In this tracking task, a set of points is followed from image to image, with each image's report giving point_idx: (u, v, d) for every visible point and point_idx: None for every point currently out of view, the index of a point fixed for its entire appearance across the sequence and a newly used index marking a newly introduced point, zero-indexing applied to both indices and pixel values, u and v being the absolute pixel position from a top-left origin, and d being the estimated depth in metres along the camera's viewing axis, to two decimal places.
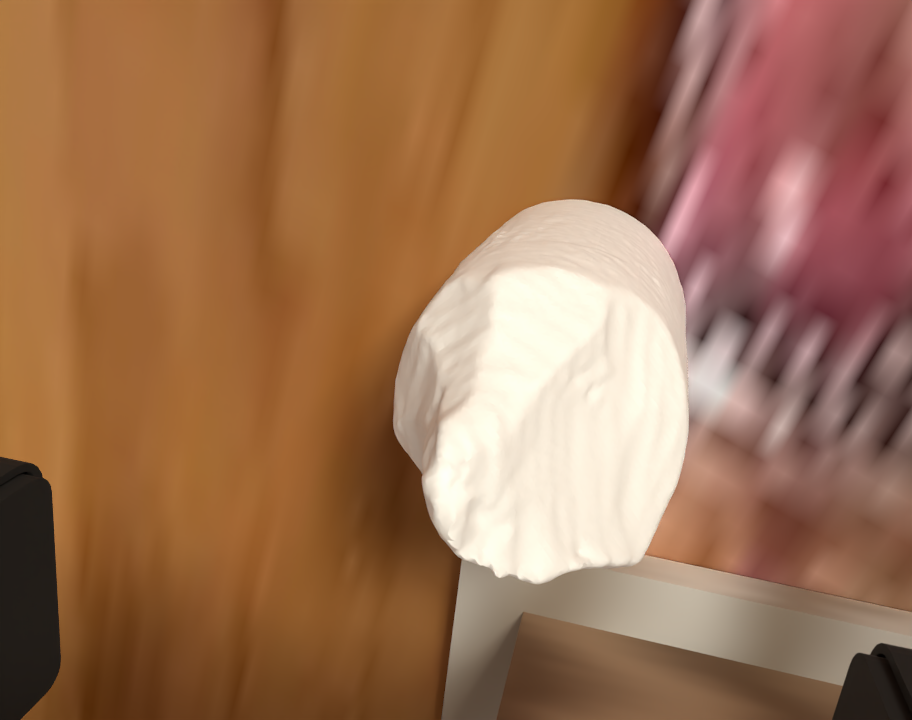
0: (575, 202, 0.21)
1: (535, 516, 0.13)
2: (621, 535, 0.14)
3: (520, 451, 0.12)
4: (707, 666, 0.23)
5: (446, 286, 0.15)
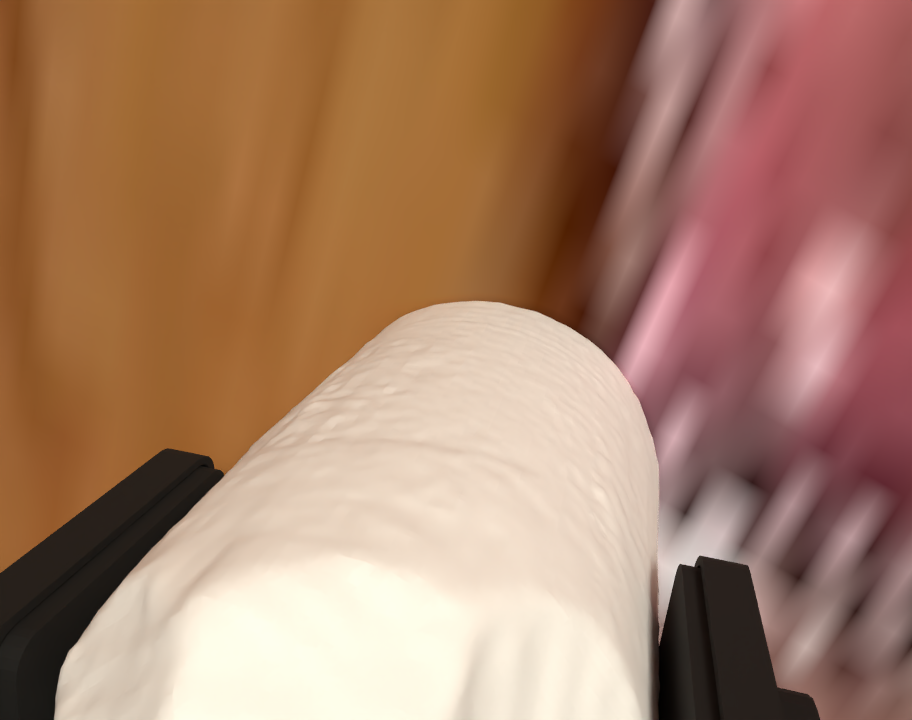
0: (480, 309, 0.13)
1: None
2: None
3: None
4: None
5: (124, 583, 0.07)
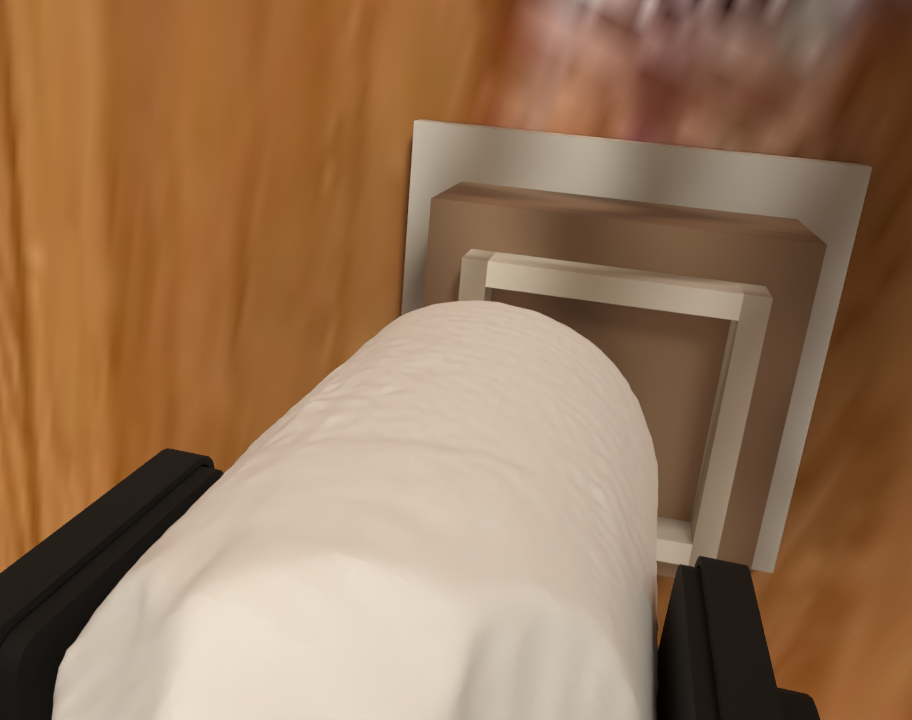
0: (480, 308, 0.13)
1: None
2: None
3: None
4: (602, 199, 0.30)
5: (122, 582, 0.07)
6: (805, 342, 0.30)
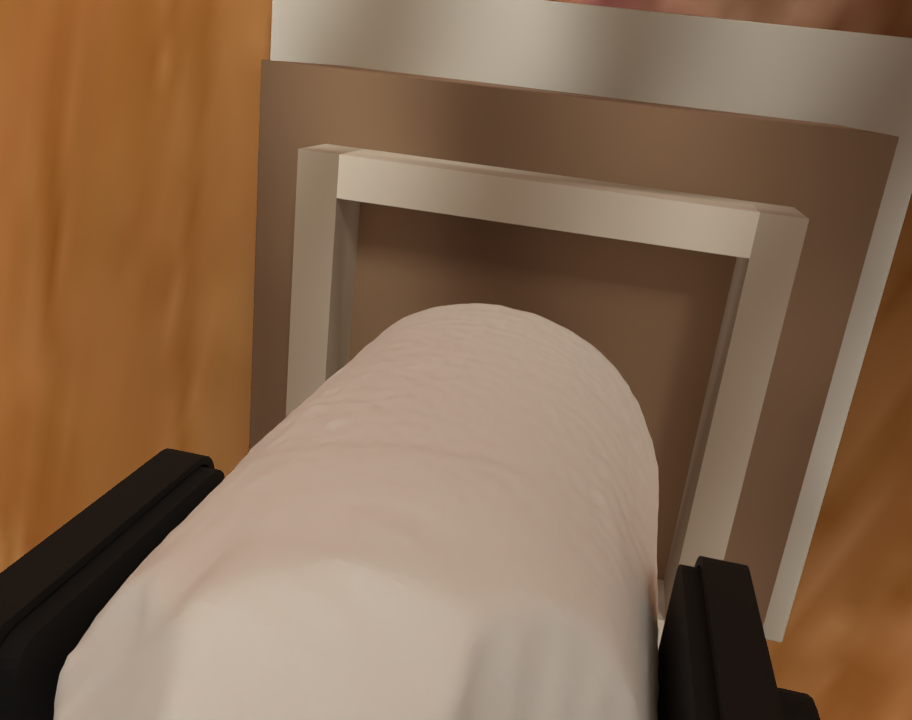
0: (480, 311, 0.13)
1: None
2: None
3: None
4: (545, 90, 0.20)
5: (123, 588, 0.07)
6: None
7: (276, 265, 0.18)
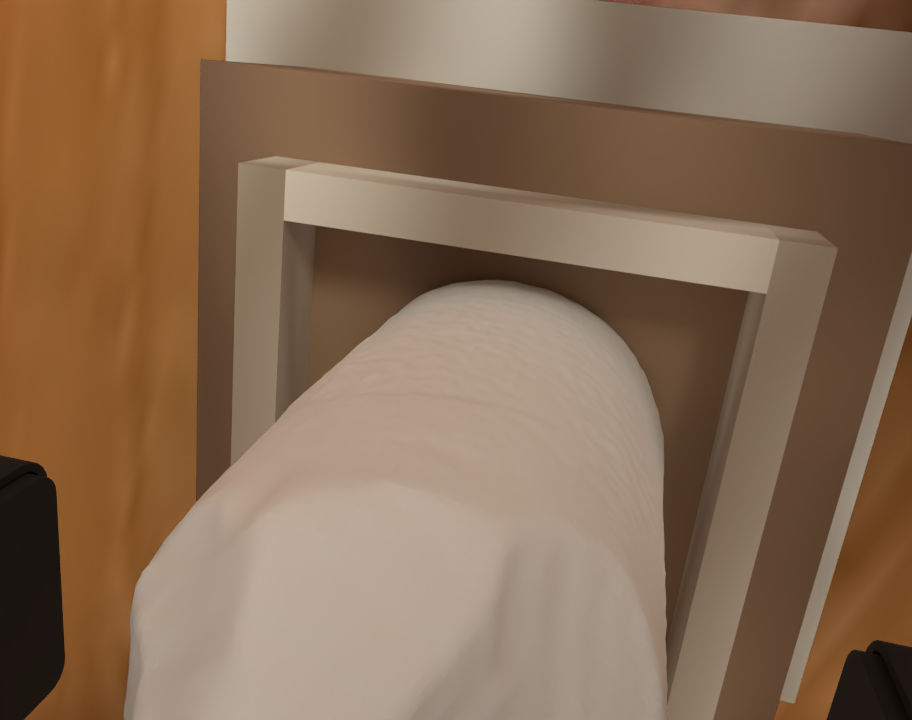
0: (497, 286, 0.14)
1: None
2: None
3: None
4: (531, 94, 0.18)
5: (193, 510, 0.07)
6: None
7: (222, 294, 0.16)
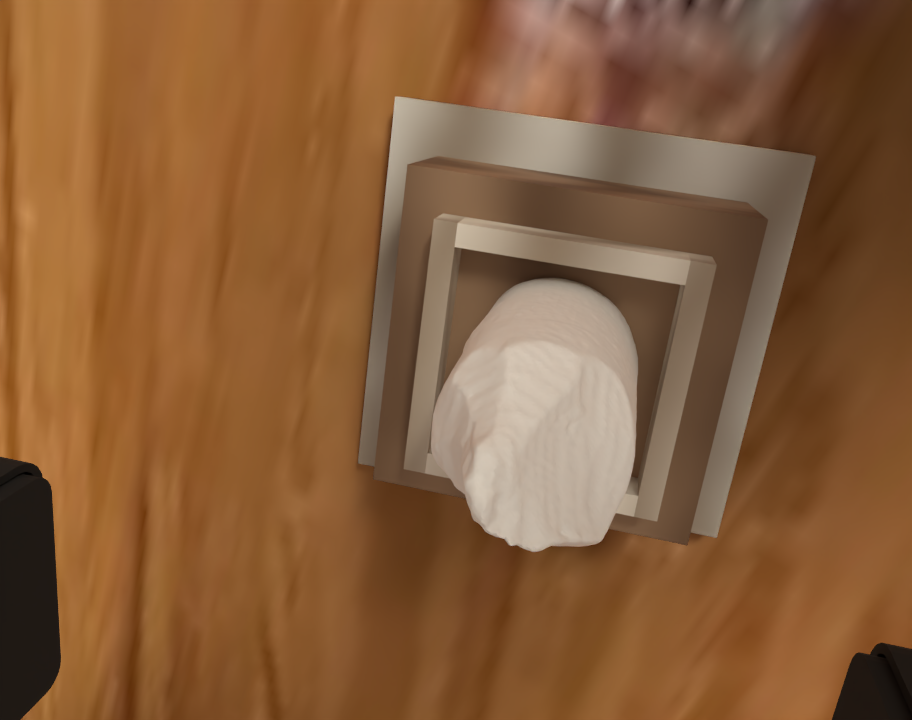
0: (556, 281, 0.28)
1: (534, 507, 0.20)
2: (589, 522, 0.21)
3: (525, 464, 0.19)
4: (568, 176, 0.32)
5: (472, 352, 0.21)
6: (751, 318, 0.33)
7: (407, 283, 0.30)
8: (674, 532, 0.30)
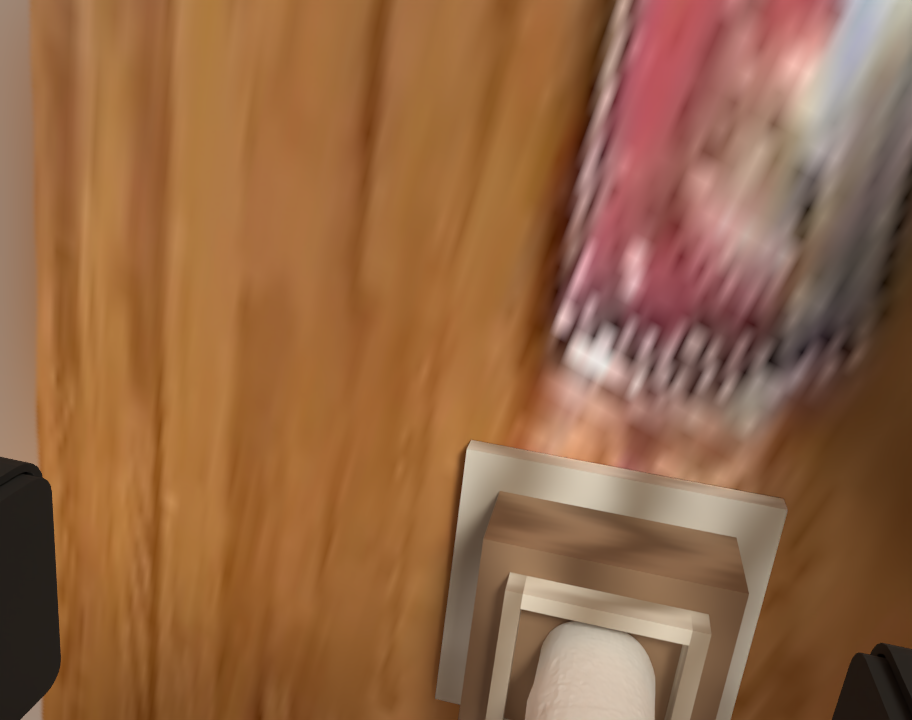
0: (594, 628, 0.38)
1: None
2: None
3: None
4: (600, 515, 0.42)
5: None
6: None
7: (482, 615, 0.40)
8: None
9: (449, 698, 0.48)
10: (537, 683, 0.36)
